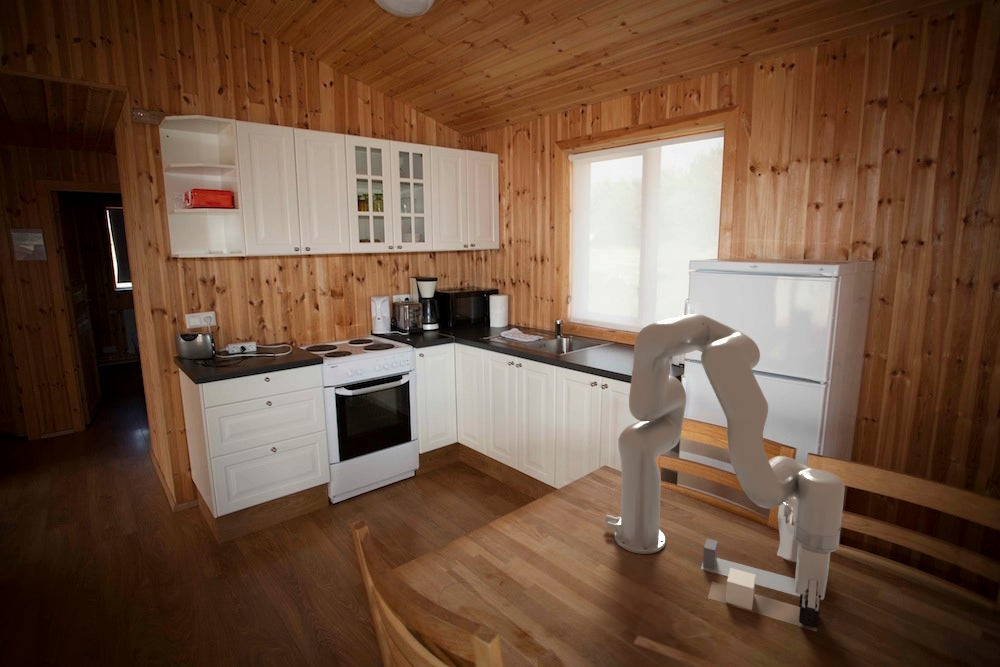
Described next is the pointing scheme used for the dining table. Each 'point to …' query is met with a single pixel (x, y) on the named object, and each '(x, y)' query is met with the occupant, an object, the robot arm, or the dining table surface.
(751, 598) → the cream block
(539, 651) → the dining table surface
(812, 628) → the brown long piece
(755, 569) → the grey strip
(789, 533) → the beer glass
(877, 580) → the dining table surface
